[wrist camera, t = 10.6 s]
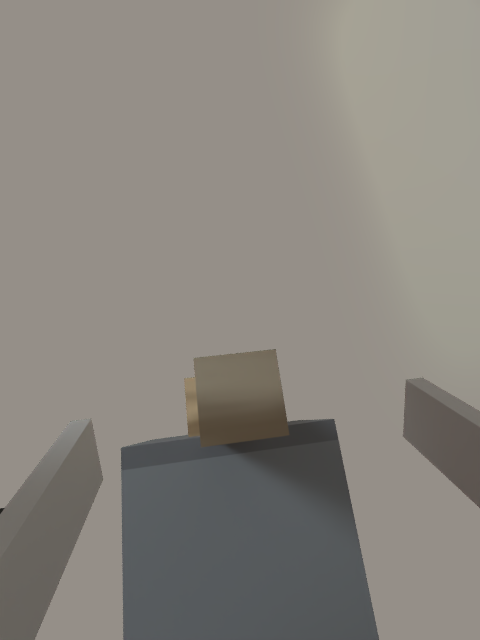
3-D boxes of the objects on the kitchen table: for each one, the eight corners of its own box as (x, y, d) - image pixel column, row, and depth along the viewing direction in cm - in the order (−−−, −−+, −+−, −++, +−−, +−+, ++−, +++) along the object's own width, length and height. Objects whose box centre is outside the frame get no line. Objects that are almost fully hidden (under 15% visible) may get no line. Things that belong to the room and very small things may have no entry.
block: (331, 429, 13) (308, 312, 14) (154, 453, 12) (149, 327, 14) (258, 425, 35) (252, 379, 36) (193, 434, 34) (190, 386, 35)
